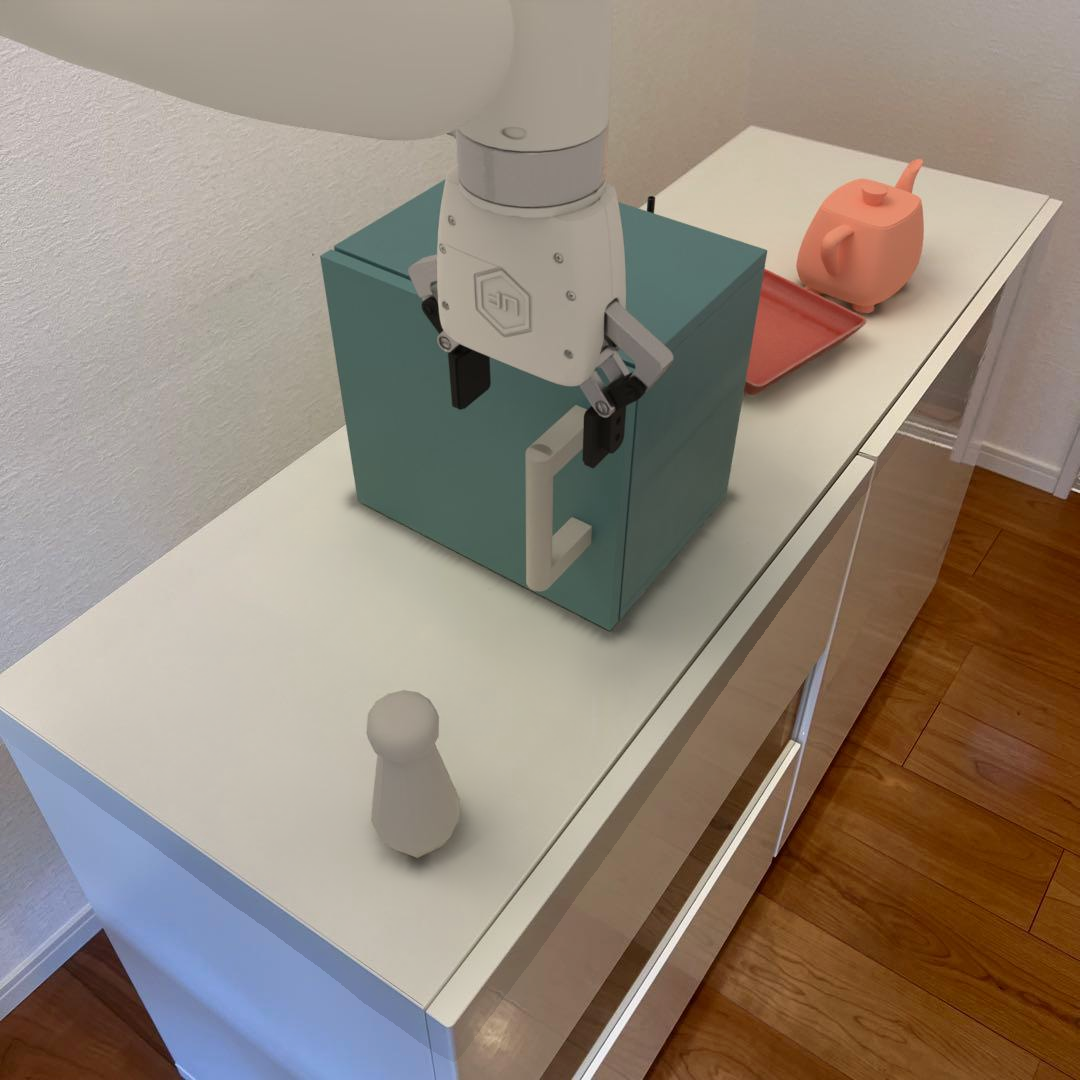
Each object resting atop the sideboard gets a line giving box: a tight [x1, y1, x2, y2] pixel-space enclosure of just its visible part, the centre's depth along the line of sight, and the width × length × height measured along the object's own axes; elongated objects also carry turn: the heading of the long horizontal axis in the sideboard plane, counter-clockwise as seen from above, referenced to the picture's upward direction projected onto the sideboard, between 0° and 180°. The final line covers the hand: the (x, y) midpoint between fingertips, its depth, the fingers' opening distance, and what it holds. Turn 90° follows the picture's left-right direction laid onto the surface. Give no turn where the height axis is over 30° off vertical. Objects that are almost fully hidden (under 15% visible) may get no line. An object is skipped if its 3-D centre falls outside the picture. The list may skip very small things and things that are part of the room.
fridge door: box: [319, 249, 636, 632], centre depth 80 cm, size 8×26×24 cm, turn 55°
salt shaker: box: [366, 689, 461, 859], centre depth 67 cm, size 6×6×13 cm
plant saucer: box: [744, 268, 867, 396], centre depth 112 cm, size 18×18×3 cm
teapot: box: [795, 158, 925, 314], centre depth 118 cm, size 20×12×12 cm, turn 140°
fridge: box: [333, 178, 768, 622], centre depth 88 cm, size 18×26×24 cm
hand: (534, 425), depth 66 cm, fingers open, 9 cm apart
